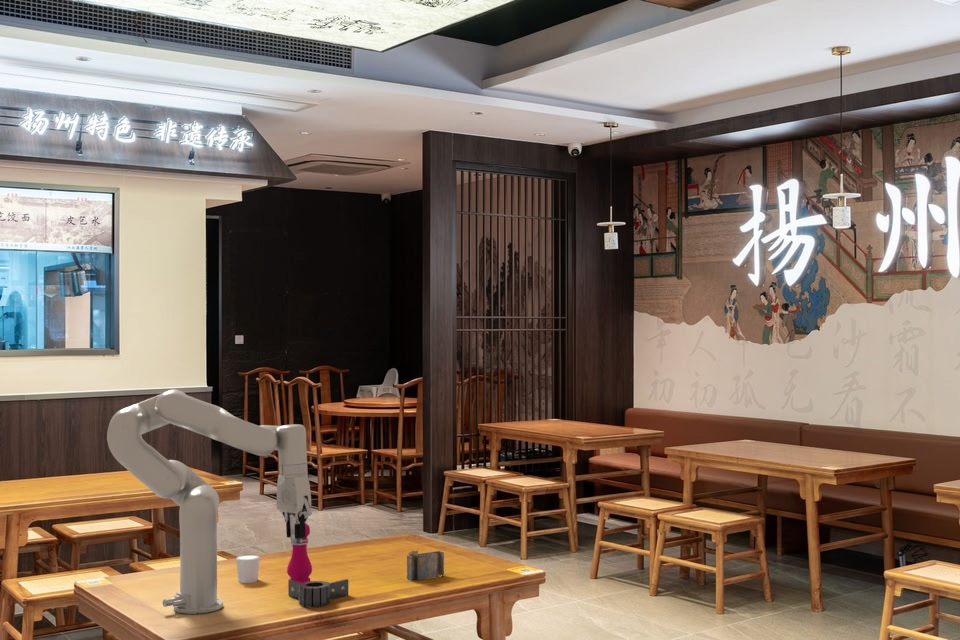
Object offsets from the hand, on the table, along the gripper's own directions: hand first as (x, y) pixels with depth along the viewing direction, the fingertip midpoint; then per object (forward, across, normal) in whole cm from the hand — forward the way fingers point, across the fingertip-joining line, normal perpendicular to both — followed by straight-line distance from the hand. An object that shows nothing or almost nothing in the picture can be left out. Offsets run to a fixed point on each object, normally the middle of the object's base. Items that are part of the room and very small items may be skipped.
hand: (296, 536), depth 264 cm
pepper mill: (+18, -15, +12) cm, 27 cm away
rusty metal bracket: (+20, +6, +42) cm, 47 cm away
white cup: (+18, -31, +5) cm, 36 cm away
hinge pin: (+2, 0, 0) cm, 2 cm away
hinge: (+18, 0, +6) cm, 19 cm away
